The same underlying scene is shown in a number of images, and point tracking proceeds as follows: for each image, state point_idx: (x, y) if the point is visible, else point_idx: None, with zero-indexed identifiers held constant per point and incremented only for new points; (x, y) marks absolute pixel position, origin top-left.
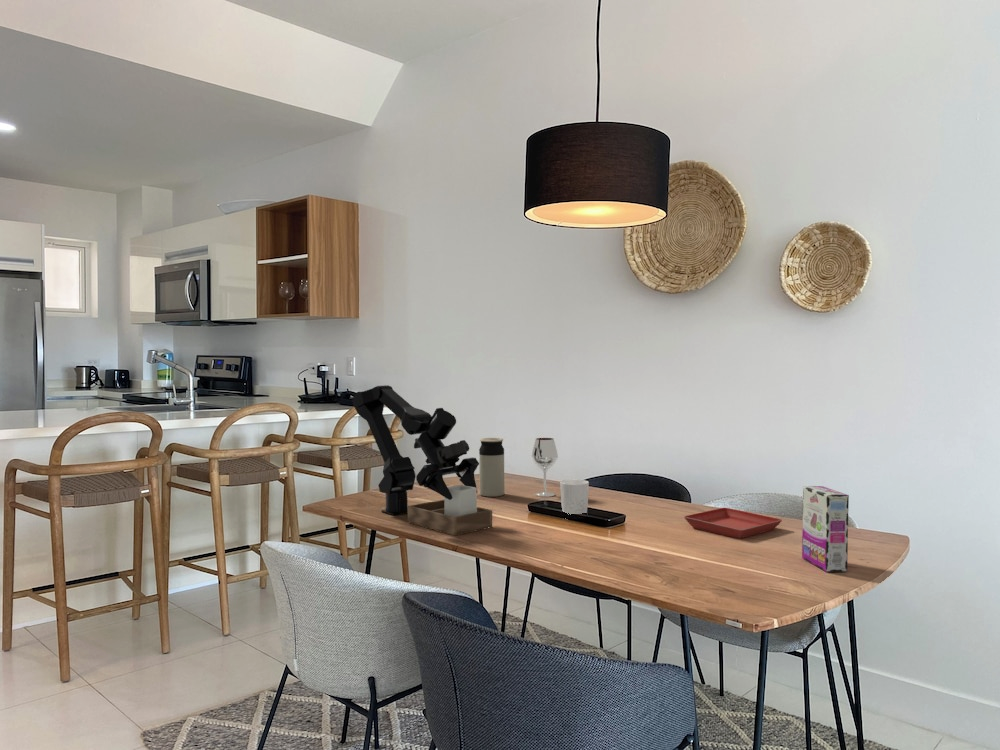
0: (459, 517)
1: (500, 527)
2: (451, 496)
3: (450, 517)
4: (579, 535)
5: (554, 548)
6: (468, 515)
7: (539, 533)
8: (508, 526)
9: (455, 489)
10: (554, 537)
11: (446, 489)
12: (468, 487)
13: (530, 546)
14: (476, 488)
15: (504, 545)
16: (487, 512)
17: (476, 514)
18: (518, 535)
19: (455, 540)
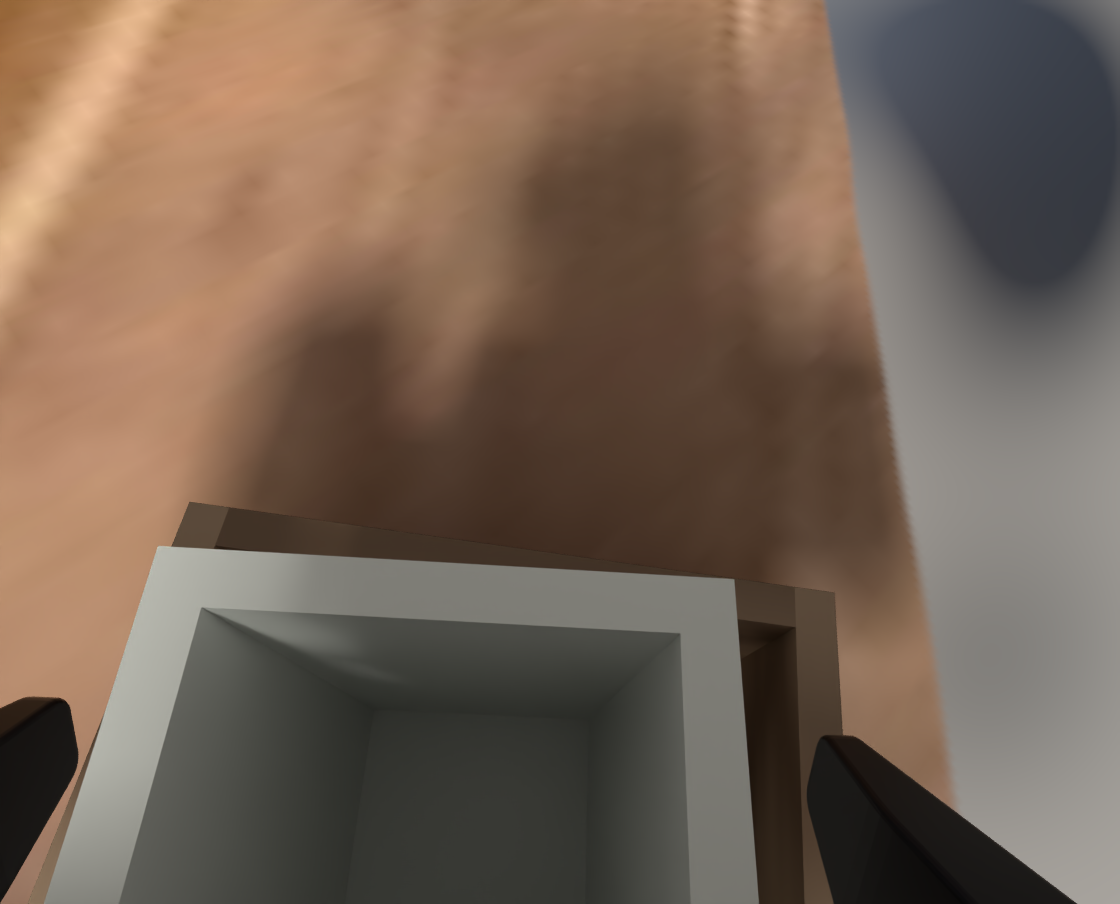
0: (741, 582)
1: (230, 504)
2: (857, 742)
3: (835, 665)
4: (188, 16)
5: (533, 3)
6: (595, 561)
7: (263, 184)
8: (156, 470)
9: (687, 832)
10: (313, 85)
11: (1043, 886)
12: (157, 807)
13: (585, 90)
14: (165, 556)
15: (676, 194)
16: (277, 519)
17: (463, 543)
18: (399, 254)
19: (850, 518)
